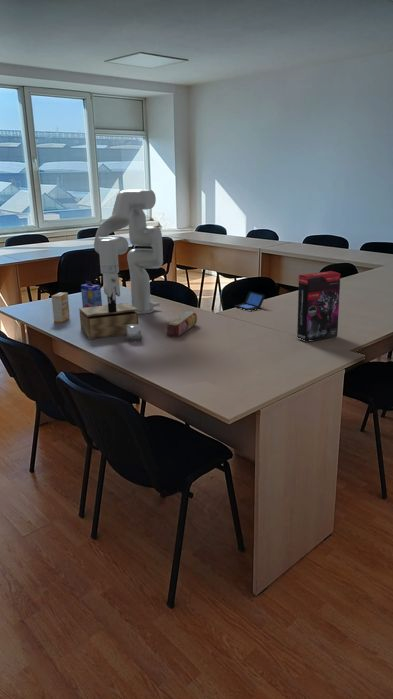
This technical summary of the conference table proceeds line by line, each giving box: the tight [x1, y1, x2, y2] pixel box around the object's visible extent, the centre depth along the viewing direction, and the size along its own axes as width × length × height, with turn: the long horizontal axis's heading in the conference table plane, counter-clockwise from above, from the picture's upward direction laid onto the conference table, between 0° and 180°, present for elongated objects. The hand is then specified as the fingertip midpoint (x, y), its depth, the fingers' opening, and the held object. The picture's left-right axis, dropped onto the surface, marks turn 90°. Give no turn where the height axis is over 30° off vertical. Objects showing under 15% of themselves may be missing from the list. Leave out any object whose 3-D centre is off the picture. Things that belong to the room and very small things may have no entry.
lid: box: [79, 303, 138, 317], centre depth 230 cm, size 22×17×1 cm
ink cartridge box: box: [80, 280, 103, 308], centre depth 273 cm, size 10×6×14 cm, turn 54°
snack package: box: [166, 310, 198, 338], centre depth 232 cm, size 21×7×7 cm, turn 159°
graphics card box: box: [296, 270, 341, 341], centre depth 215 cm, size 17×7×27 cm, turn 117°
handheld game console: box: [234, 290, 266, 311], centre depth 270 cm, size 12×11×7 cm
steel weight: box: [125, 323, 142, 343], centre depth 220 cm, size 6×6×6 cm
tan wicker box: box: [78, 310, 140, 340], centre depth 232 cm, size 22×17×9 cm
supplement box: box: [51, 292, 71, 323], centre depth 250 cm, size 8×5×13 cm, turn 168°
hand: (112, 311), depth 223 cm, fingers closed
